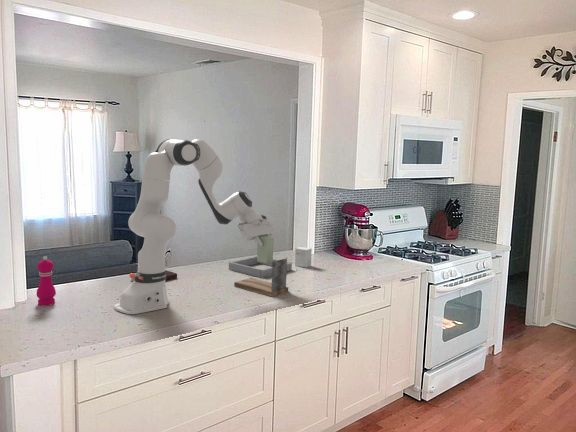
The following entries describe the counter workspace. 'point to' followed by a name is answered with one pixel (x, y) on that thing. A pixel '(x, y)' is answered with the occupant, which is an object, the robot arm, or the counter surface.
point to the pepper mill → (45, 283)
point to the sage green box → (265, 250)
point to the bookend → (265, 287)
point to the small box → (303, 257)
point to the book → (169, 276)
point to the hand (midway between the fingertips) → (266, 244)
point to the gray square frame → (244, 267)
